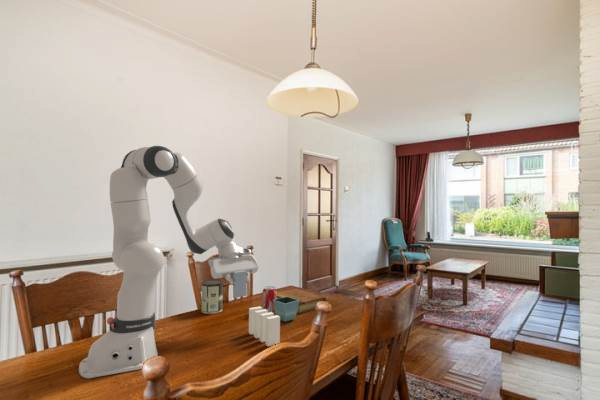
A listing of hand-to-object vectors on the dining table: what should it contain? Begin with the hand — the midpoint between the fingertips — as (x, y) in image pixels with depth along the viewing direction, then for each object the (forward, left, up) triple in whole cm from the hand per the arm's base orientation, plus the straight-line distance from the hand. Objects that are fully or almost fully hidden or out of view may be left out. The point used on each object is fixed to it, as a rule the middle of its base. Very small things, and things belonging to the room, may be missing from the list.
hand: (240, 283), depth 130 cm
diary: (+43, +19, -21) cm, 51 cm away
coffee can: (+2, +35, -21) cm, 41 cm away
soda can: (+24, +17, -21) cm, 36 cm away
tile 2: (+6, -7, -20) cm, 22 cm away
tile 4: (+6, -16, -20) cm, 26 cm away
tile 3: (+6, -11, -20) cm, 24 cm away
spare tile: (0, +1, -5) cm, 5 cm away
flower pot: (+25, +4, -21) cm, 33 cm away
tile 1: (+6, -2, -20) cm, 21 cm away
